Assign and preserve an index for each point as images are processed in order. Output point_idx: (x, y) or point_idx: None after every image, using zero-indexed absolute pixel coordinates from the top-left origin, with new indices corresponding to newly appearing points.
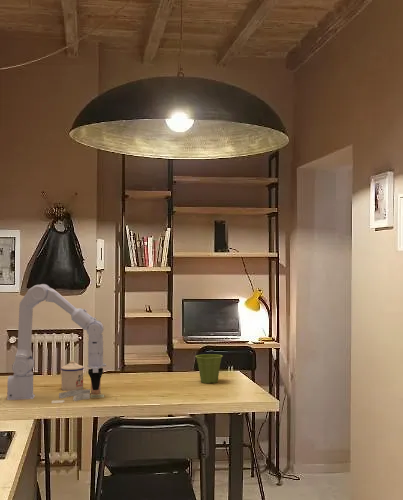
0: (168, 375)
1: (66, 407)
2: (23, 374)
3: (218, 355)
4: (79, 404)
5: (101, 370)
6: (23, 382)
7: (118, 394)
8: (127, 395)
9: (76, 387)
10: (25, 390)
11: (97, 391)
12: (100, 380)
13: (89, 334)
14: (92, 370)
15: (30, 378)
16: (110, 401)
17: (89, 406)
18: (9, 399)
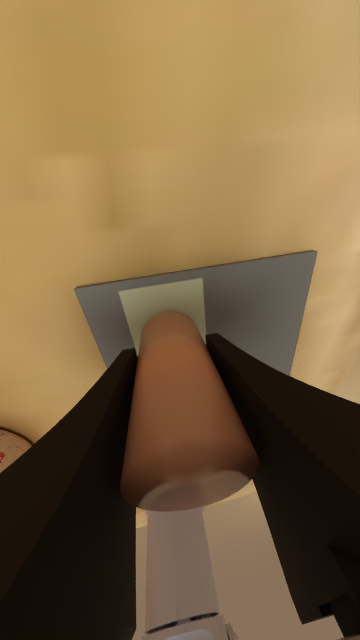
0: None
1: (324, 387)
2: (235, 633)
3: None
4: (295, 361)
5: (42, 585)
6: (212, 574)
7: (37, 177)
8: (62, 55)
9: (6, 452)
10: (203, 528)
11: (199, 333)
12: (177, 372)
13: None
14: (119, 625)
15: (201, 594)
16: (280, 223)
17: (348, 317)
18: (202, 510)
